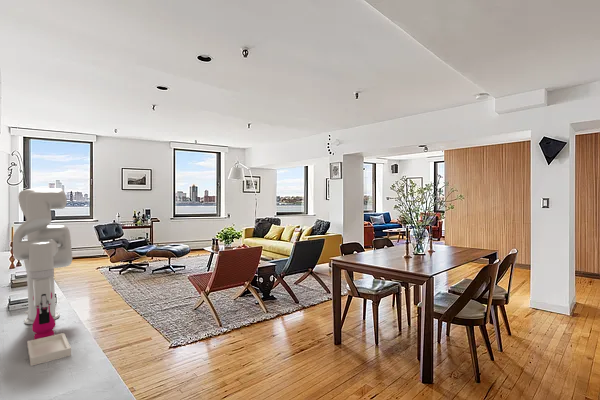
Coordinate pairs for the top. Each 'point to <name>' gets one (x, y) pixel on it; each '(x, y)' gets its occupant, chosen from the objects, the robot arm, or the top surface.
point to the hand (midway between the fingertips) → (43, 320)
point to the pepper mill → (46, 328)
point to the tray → (48, 349)
